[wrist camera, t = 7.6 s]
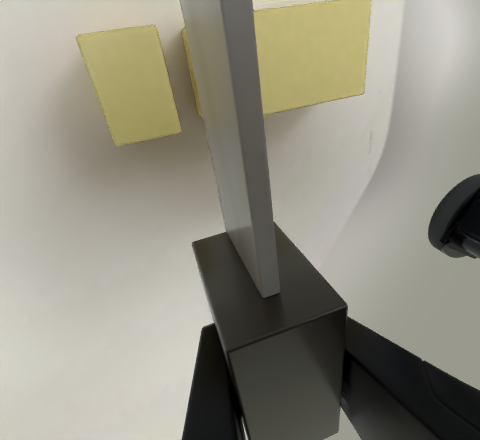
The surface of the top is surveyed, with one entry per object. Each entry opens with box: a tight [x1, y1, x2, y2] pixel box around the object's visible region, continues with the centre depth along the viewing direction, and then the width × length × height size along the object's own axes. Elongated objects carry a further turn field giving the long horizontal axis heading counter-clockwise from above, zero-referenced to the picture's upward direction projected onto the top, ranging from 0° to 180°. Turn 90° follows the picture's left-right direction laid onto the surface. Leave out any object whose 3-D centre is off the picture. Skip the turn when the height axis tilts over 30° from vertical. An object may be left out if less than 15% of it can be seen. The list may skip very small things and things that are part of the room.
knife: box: [180, 0, 348, 440], centre depth 6 cm, size 2×11×4 cm, turn 9°
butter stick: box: [182, 0, 371, 118], centre depth 12 cm, size 7×4×3 cm, turn 98°
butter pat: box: [76, 25, 181, 146], centre depth 11 cm, size 2×4×3 cm
